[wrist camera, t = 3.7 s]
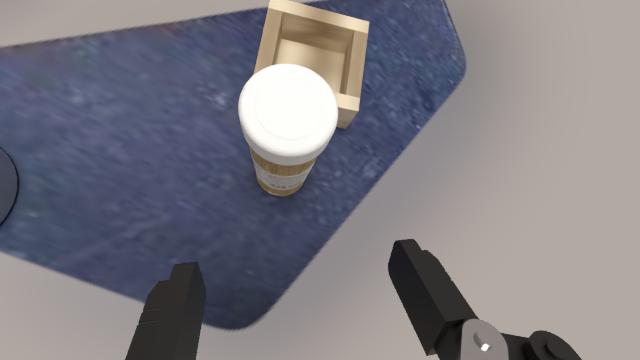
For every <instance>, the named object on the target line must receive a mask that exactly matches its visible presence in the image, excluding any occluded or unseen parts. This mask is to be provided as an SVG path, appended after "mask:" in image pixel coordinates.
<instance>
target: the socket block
mask: <svg viewBox="0 0 640 360" xmlns="http://www.w3.org/2000/svg"><path fill="white" fill-rule="evenodd" d="M368 28H369V22H368V21H364V20H360V19H356V18H353V17H349V16H345V15H341V14H337V13H334V12H330V11H326V10H322V9H319V8H315V7H311V6H307V5H304V4H300V3H296V2H292V1H288V0H270V3H269V7H268V12H267V16H266V21H265V25H264V30H263V34H262V39H261V43H260V48H259V52H258V57H257V62H256V66H255V71H254V74H256V73H257V72H259V71H260V70H262V69H264V68H266V67H269V66H272V65H276V64H295V65H300V66H303V67H306V68H308V69H310V70H312V71H314V72H315V73H317V74H318V75H319V76H321V77H322V78H323V79H324V80H325V81H326V82H327V83H328V85H329V86H330V88H331V89H332V91H333V93H334V95H335V97H336V101H337V105H338V121H337V125H336V127H338V128H343V129H346V128H347V127H348V126H349V124H350V123H351V121H352V120H353V118H354V117H355V115H356V114H357V113H358V110H359V102H360V94H361V86H362V77H363V69H364V61H365V53H366V44H367V36H368Z"/></svg>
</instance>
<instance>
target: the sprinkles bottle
mask: <svg viewBox="0 0 640 360" xmlns="http://www.w3.org/2000/svg"><path fill="white" fill-rule="evenodd" d="M238 111H239V118H240V123H241V127H242V130H243V134H244V136H245V139H246V141H247V142H248V144H249V145H250V151H251V155H252V159H253V163H254V167H255V171H256V177H257V180H258V183H259V184H260V186H261V187H262V188H263V189H264V190H265V191H266V192H268V193H270V194H272V195H276V196H287V195H291V194H293V193H295V192H296V191H297V190H299V189H300V188H301V186H302V185H303V183H304V181H305V178H306V177H307V175H308V173H309V172H310V170H311V168H312V167H313V165H314V162H315V160H316V158H317V156H318V155H319V154H320V153H321V152H322V151H323V150H324V149H325V147H326V146H327V144H328V143H329V141H330V139H331V137H332V135H333V133H334V131H335V128H336V125H337V121H338V105H337V101H336V97H335V95H334V93H333V91H332V89H331V88H330V86H329V85H328V83H327V82H326V81H325V80H324V79H323V78H322V77H321V76H319V75H318V74H317V73H315V72H314V71H312V70H310V69H308V68H306V67H303V66H300V65H295V64H276V65H272V66H269V67H266V68H264V69H262V70H260V71H259V72H257V73H256V74H254V75H253V76H252V77H251V78H250V79H249V80H248V82H247V83H246V84H245V86H244V87H243V90H242V92H241V94H240V98H239V106H238Z"/></svg>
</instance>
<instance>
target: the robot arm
mask: <svg viewBox="0 0 640 360" xmlns="http://www.w3.org/2000/svg"><path fill="white" fill-rule="evenodd" d="M16 192H17V175H16V171H15V167H14V165H13V163H12V161H11V160H10V158H9V156H8V155H7V154H6V153H5V152H4V151H3V150H2V149H1V148H0V223H1V222H2V221H3V220H4V218H5V217H6V216H7V214H8V212H9V211H10V209H11V207H12V205H13V203H14V200H15V196H16ZM388 271H389V275H390V278H391V280H392V283H393V285H394V287H395V289H396V291H397V293H398V295H399V298H400V300H401V301H402V303H403V306H404V308H405V310H406V312H407V314H408V317H409V319H410V321H411V323H412V325H413V327H414V330H415V331H416V334H417V336H418V338H419V340H420V342H421V344H422V347H423V349H424V351H425V353H426V355H427V356H428V355H433V354H437V355H438V357H439V359H440V360H581V358H580V357H579V356H578V354H577V353H576V352H575V351H574V350H573V349H572V347H570V345H569V344H567V343H566V342H565V341H564V340H563V339H561V338H560V337H558V336H556V335H554V334H552V333H550V332H547V331H535V332H534V333H533V334H532V335H531V336H530V337H529V338H526V337H520V336H514V335H509V334H504V333H500V332H499V331H498V330H497V329H496V328H495V327H493V326H492V325H491V324H489V323H487V322H485V321H483V320H480V319H479V318H478V317H477V316H476V315H475V314H474V312H473V310H472V309H471V308H470V306H469V305H468V303H467V302H466V300H465V299H464V298H463V296H462V294H461V293H460V291H459V290H458V288H457V287H456V285H455V284H454V282H453V281H451V278H450V277H449V275H448V274H447V272H445V269H444V268H443V266H442V265H441V263H440V262H439V260H438V259H437V258H436V257H434V256H433V255H432V254H431V253H430V252H428V251H427V250H421V248H420V247H419V245H418V244H417V242H416V241H415V240H414V239H407V240H398V241H395V243H394V245H393V249H392V252H391V256H390V259H389V263H388ZM205 298H206V292H205V285H204V281H203V278H202V274H201V271H200V268H199V264H198V262H191V263H182V264H175V266H174V267H173V270H172V273H171V277H170V280H164V281H159V282H158V283H157V285H156V286H155V287H154V288H153V290H152V291H151V292H150V293H149V295H148V297H147V300H146V303H145V306H144V309H143V313H142V314H141V317H140V320H139V325H138V326H137V328H136V331H135V334H134V336H133V339H132V342H131V345H130V347H129V350H128V353H127V356H126V359H125V360H196V354H197V348H198V342H199V336H200V330H201V324H202V318H203V312H204V306H205Z"/></svg>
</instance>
